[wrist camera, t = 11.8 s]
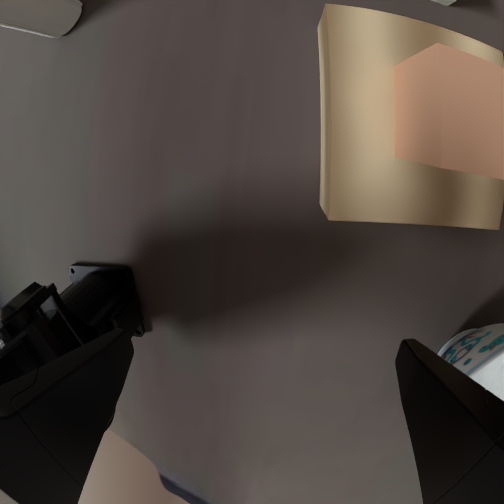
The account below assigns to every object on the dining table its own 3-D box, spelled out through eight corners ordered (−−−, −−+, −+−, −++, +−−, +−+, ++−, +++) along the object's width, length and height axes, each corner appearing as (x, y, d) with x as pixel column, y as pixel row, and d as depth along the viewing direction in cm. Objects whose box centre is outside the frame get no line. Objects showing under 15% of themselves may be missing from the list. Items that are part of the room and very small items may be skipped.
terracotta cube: (394, 157, 14) (440, 167, 9) (393, 66, 12) (437, 42, 7) (467, 168, 13) (522, 184, 9) (468, 85, 11) (522, 77, 7)
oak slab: (319, 204, 19) (328, 220, 15) (317, 27, 15) (325, 3, 11) (468, 213, 18) (498, 230, 14) (471, 60, 14) (502, 52, 10)
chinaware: (398, 422, 27) (413, 476, 19) (384, 328, 22) (413, 397, 15) (505, 371, 23) (531, 413, 16) (519, 265, 19) (569, 305, 12)
